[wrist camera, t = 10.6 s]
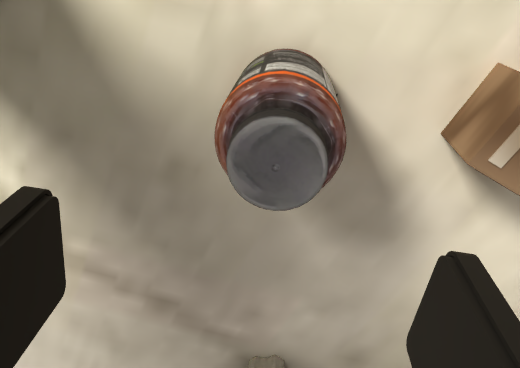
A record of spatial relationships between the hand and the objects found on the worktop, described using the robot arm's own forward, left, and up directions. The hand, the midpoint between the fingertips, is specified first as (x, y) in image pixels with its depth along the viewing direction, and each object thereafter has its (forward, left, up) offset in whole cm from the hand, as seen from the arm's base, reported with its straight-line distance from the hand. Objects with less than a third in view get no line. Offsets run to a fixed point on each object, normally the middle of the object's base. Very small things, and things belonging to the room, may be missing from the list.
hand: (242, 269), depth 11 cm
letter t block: (+11, -7, -18) cm, 22 cm away
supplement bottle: (0, 0, -18) cm, 18 cm away
